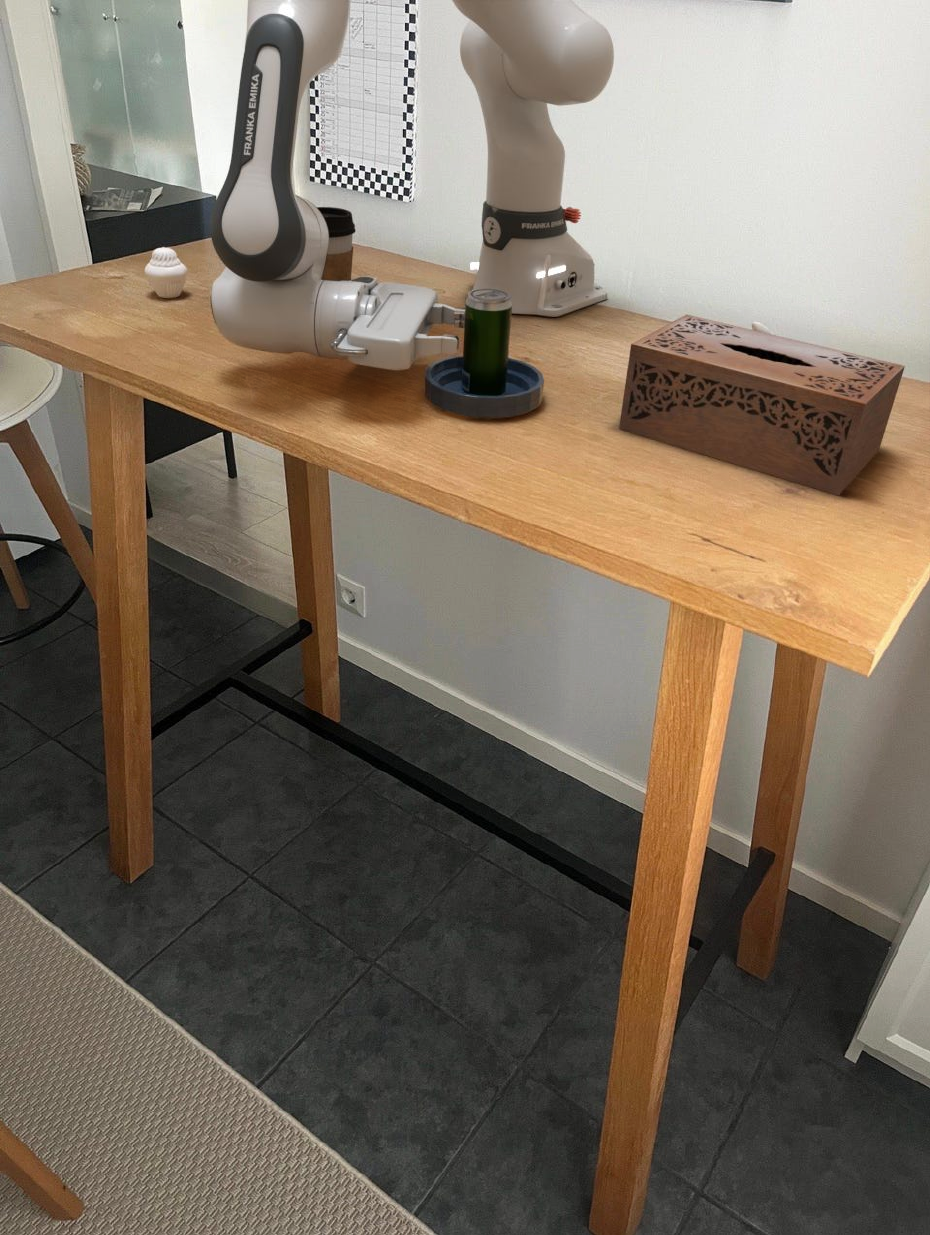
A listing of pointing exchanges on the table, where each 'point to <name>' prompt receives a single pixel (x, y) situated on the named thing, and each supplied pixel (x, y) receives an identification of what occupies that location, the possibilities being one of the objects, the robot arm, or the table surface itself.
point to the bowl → (516, 400)
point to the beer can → (486, 342)
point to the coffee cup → (338, 244)
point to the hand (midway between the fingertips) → (463, 331)
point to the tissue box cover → (760, 400)
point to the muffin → (166, 273)
